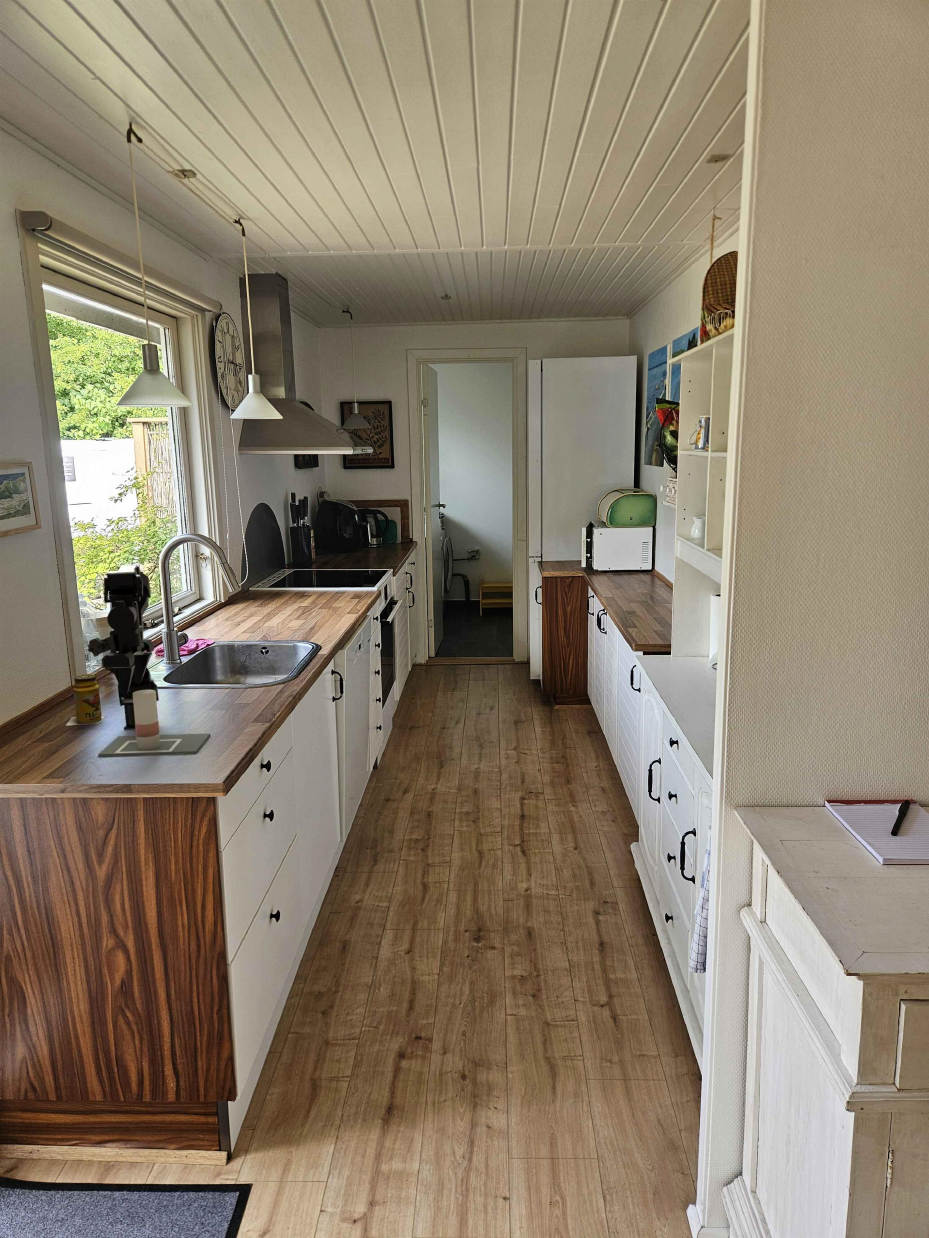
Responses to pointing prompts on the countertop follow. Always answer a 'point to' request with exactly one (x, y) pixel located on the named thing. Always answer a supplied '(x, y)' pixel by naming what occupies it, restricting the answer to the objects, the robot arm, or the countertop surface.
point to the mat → (167, 746)
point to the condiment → (86, 701)
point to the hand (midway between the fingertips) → (131, 688)
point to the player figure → (146, 719)
